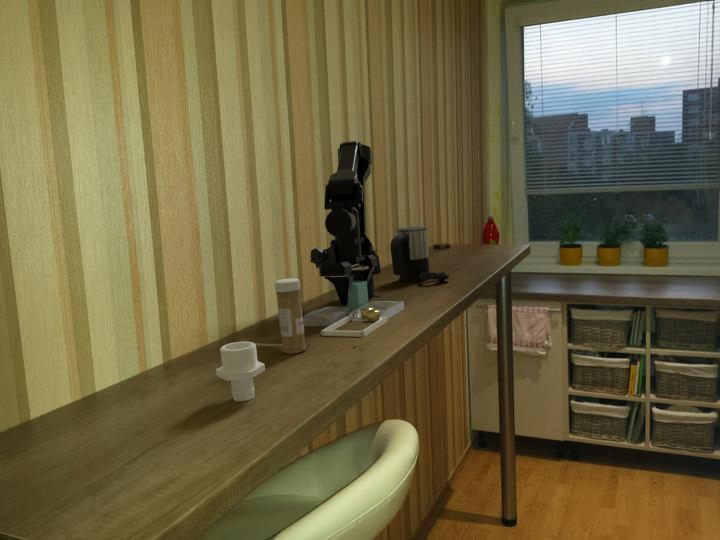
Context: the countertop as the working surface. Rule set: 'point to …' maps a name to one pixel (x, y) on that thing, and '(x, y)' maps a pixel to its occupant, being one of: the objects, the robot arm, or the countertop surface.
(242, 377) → the pipe fitting
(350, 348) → the countertop surface
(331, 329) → the chip tray
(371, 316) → the chip
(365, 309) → the chip
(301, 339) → the sprinkles bottle
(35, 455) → the countertop surface
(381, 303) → the channel
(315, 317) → the stone block
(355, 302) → the mint green brick
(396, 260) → the milk frother
